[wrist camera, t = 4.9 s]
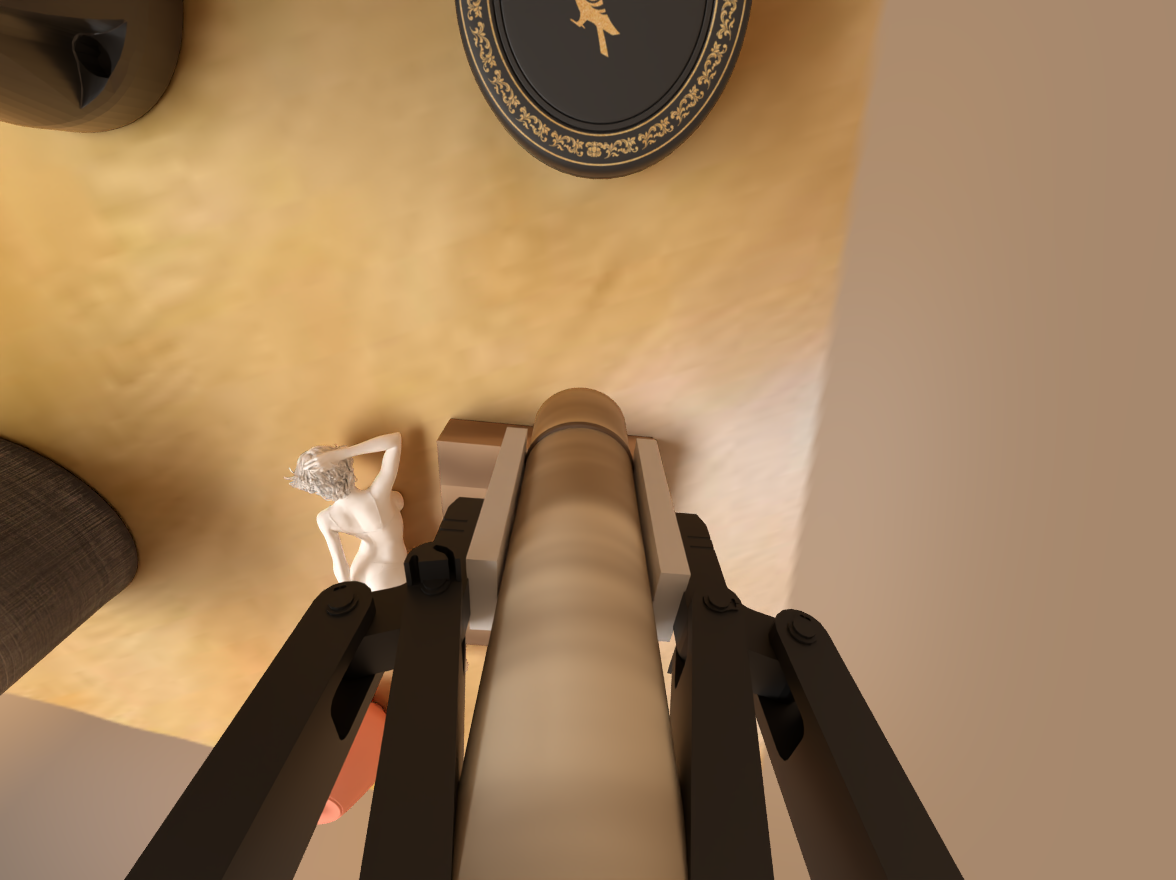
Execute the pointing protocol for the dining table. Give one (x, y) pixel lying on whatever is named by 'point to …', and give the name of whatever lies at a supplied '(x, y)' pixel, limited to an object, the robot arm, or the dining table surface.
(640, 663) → the leg
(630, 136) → the jar
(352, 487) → the figurine
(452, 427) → the board
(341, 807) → the sugar bowl
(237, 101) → the dining table surface
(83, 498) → the planter
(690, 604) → the robot arm
